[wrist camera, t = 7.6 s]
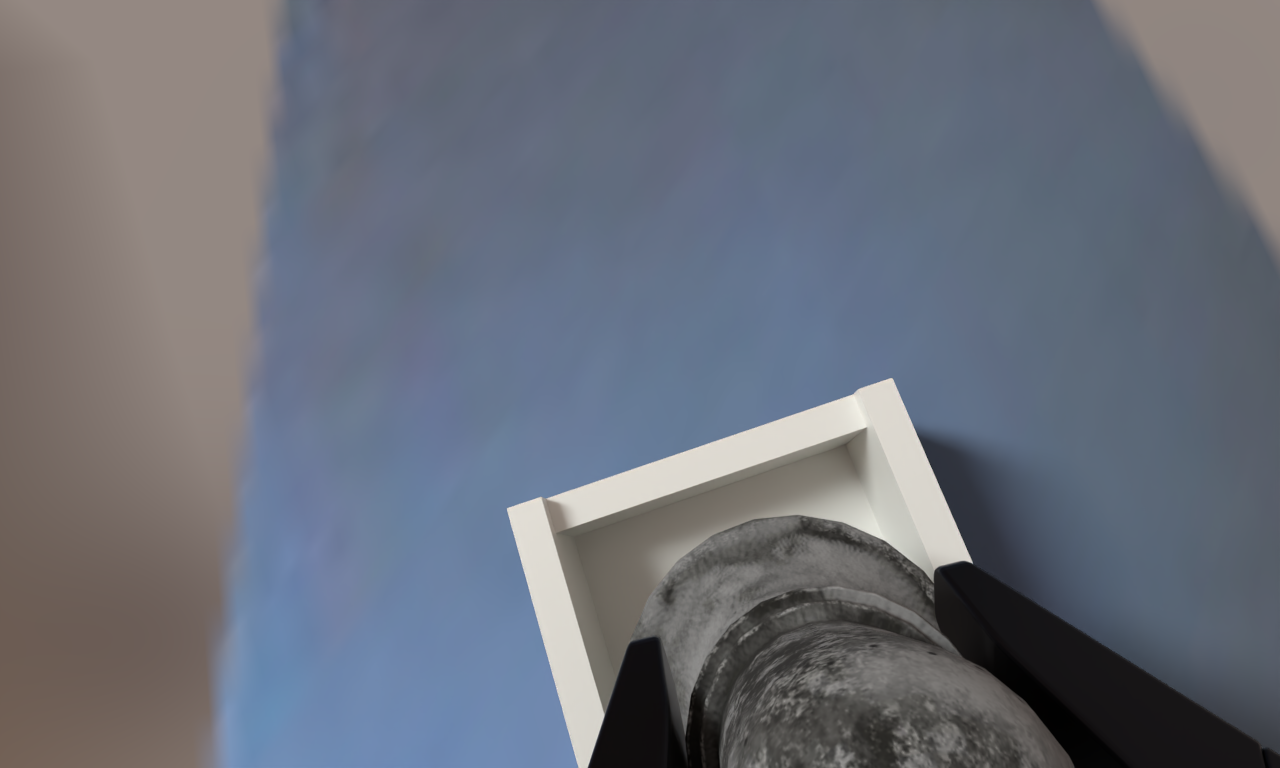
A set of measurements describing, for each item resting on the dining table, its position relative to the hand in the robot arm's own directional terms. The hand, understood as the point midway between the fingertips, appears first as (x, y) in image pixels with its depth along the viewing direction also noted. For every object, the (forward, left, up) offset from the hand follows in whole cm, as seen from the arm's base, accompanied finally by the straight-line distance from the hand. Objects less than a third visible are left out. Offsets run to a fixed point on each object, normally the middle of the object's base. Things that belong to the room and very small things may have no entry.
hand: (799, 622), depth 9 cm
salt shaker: (-1, 0, -7) cm, 7 cm away
